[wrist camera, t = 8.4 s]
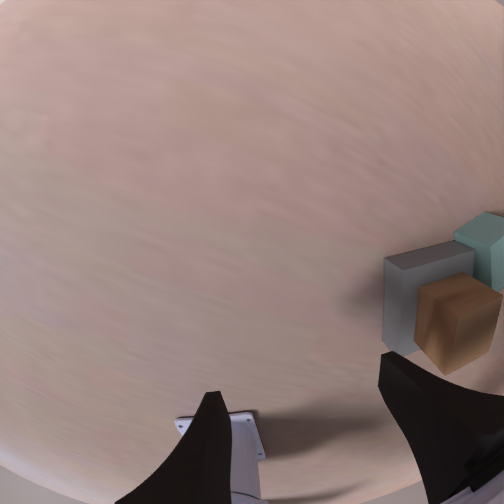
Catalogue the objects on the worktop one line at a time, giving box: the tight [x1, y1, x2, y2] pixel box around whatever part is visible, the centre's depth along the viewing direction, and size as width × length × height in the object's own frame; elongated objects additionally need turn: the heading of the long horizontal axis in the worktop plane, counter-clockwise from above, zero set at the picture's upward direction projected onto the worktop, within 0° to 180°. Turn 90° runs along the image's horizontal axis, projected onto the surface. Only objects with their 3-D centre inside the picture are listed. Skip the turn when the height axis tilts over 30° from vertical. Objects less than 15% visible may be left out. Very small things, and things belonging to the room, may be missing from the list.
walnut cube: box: [413, 272, 503, 375], centre depth 17 cm, size 5×5×5 cm
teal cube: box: [454, 212, 504, 292], centre depth 19 cm, size 5×5×5 cm
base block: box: [382, 241, 475, 356], centre depth 20 cm, size 8×8×3 cm
